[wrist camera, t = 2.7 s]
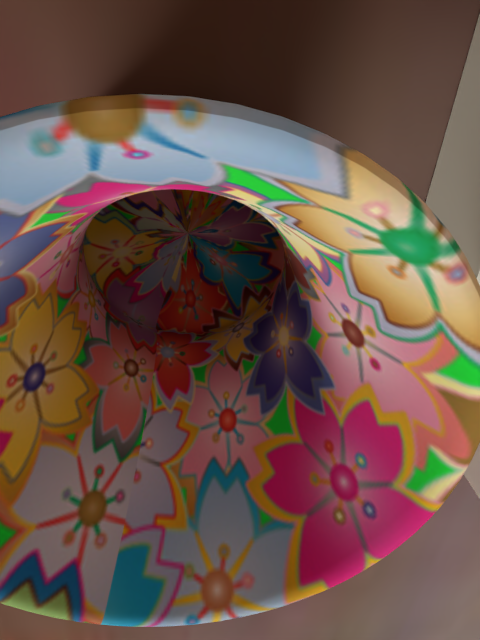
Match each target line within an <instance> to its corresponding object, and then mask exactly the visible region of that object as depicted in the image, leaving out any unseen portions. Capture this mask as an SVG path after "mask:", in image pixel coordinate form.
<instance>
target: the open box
mask: <svg viewBox="0 0 480 640" xmlns="http://www.w3.org/2000/svg"><path fill="white" fill-rule="evenodd" d="M426 205H427V206H428V207H429V208H430V209H431V210H432V212H433V213H434V214H435V215H436V216H437V217H438V218H439V220H440V221H441V222H442V223H443V224H444V225H445V227H446V228H447V229H448V230H449V232H450V233H451V235H452V236H453V238H454V239H455V241H456V242H457V244H458V245H459V247H460V248H461V250H462V252H463V253H464V255H465V256H466V258H467V260H468V262H469V264H470V266H471V268H472V270H473V272H474V274H475V277H476V279H477V281H478V283H479V285H480V14H479V18H478V21H477V24H476V28H475V31H474V35H473V38H472V42H471V45H470V49H469V52H468V56H467V59H466V63H465V66H464V70H463V73H462V77H461V80H460V84H459V87H458V91H457V94H456V98H455V101H454V105H453V108H452V112H451V115H450V119H449V122H448V126H447V129H446V133H445V136H444V140H443V143H442V147H441V150H440V154H439V157H438V161H437V164H436V168H435V171H434V175H433V178H432V182H431V185H430V189H429V192H428V196H427V199H426Z"/></svg>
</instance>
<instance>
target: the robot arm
mask: <svg viewBox="0 0 480 640" xmlns="http://www.w3.org/2000/svg"><path fill="white" fill-rule="evenodd" d="M464 476H465V477H466V479H467V480H468V482H469V483H470V485H471V486H472V488H473V489H474V491H475V493H476V494H477V496H478V497H479V499H480V443H479V445H478V448H477V450H476V452H475V454H474V456H473V458H472V460H471V462H470V464H469V466H468V467H467V469H466V471H465V472H464Z"/></svg>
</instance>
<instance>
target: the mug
mask: <svg viewBox="0 0 480 640" xmlns="http://www.w3.org/2000/svg"><path fill="white" fill-rule="evenodd" d="M479 443H480V285H479V283H478V281H477V279H476V277H475V274H474V272H473V270H472V268H471V266H470V264H469V262H468V260H467V258H466V256H465V255H464V253H463V252H462V250H461V248H460V247H459V245H458V244H457V242H456V241H455V239H454V238H453V236H452V235H451V233H450V232H449V230H448V229H447V228H446V227H445V225H444V224H443V223H442V222H441V221H440V220H439V218H438V217H437V216H436V215H435V214H434V213H433V212H432V210H431V209H430V208H429V207H428V206H427V205H426V203H425V202H423V201H422V200H421V199H420V198H419V197H418V196H417V195H416V194H415V193H413V192H412V191H411V190H410V189H409V188H408V187H407V186H406V185H405V184H403V183H402V182H401V181H400V180H399V179H398V178H397V177H395V176H394V175H392V174H391V173H390V172H388V171H387V170H385V169H384V168H382V167H381V166H380V165H378V164H377V163H375V162H374V161H372V160H371V159H370V158H368V157H367V156H365V155H364V154H362V153H360V152H358V151H356V150H354V149H353V148H351V147H349V146H347V145H345V144H343V143H341V142H340V141H338V140H336V139H334V138H332V137H330V136H328V135H327V134H324V133H322V132H320V131H317V130H315V129H312V128H310V127H307V126H305V125H302V124H300V123H297V122H295V121H292V120H290V119H287V118H285V117H282V116H279V115H275V114H271V113H268V112H264V111H260V110H257V109H253V108H250V107H246V106H242V105H239V104H234V103H227V102H221V101H215V100H209V99H203V98H196V97H190V96H172V95H152V94H129V95H112V96H95V97H86V98H80V99H75V100H69V101H63V102H57V103H51V104H46V105H40V106H36V107H33V108H29V109H26V110H23V111H19V112H16V113H12V114H9V115H6V116H2V117H0V603H2V604H5V605H8V606H12V607H15V608H19V609H22V610H25V611H29V612H33V613H37V614H41V615H46V616H50V617H55V618H60V619H66V620H71V621H77V622H85V623H93V624H101V625H115V626H137V627H157V626H179V625H193V624H201V623H209V622H217V621H222V620H228V619H234V618H239V617H244V616H248V615H252V614H257V613H261V612H265V611H268V610H272V609H275V608H279V607H282V606H285V605H288V604H291V603H294V602H297V601H300V600H303V599H305V598H308V597H310V596H313V595H315V594H317V593H320V592H322V591H325V590H327V589H329V588H331V587H333V586H335V585H337V584H340V583H342V582H344V581H346V580H347V579H349V578H351V577H353V576H355V575H356V574H358V573H360V572H362V571H364V570H365V569H367V568H368V567H370V566H372V565H373V564H375V563H376V562H378V561H379V560H381V559H382V558H384V557H385V556H387V555H388V554H389V553H391V552H392V551H393V550H395V549H396V548H397V547H399V546H400V545H401V544H402V543H404V542H405V541H406V540H407V539H408V538H410V537H411V536H412V535H413V534H414V533H415V532H417V531H418V530H419V529H420V528H421V527H422V526H423V525H424V524H425V523H426V522H427V521H428V520H429V519H430V518H431V517H432V516H433V514H434V513H435V512H436V511H437V510H438V509H439V507H440V506H441V505H442V504H443V503H444V502H445V500H446V499H447V498H448V496H449V495H450V494H451V492H452V491H453V489H454V488H455V487H456V485H457V484H458V483H459V481H460V479H461V478H462V476H463V474H464V472H465V471H466V469H467V467H468V466H469V464H470V462H471V460H472V458H473V456H474V454H475V452H476V450H477V448H478V445H479Z"/></svg>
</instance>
